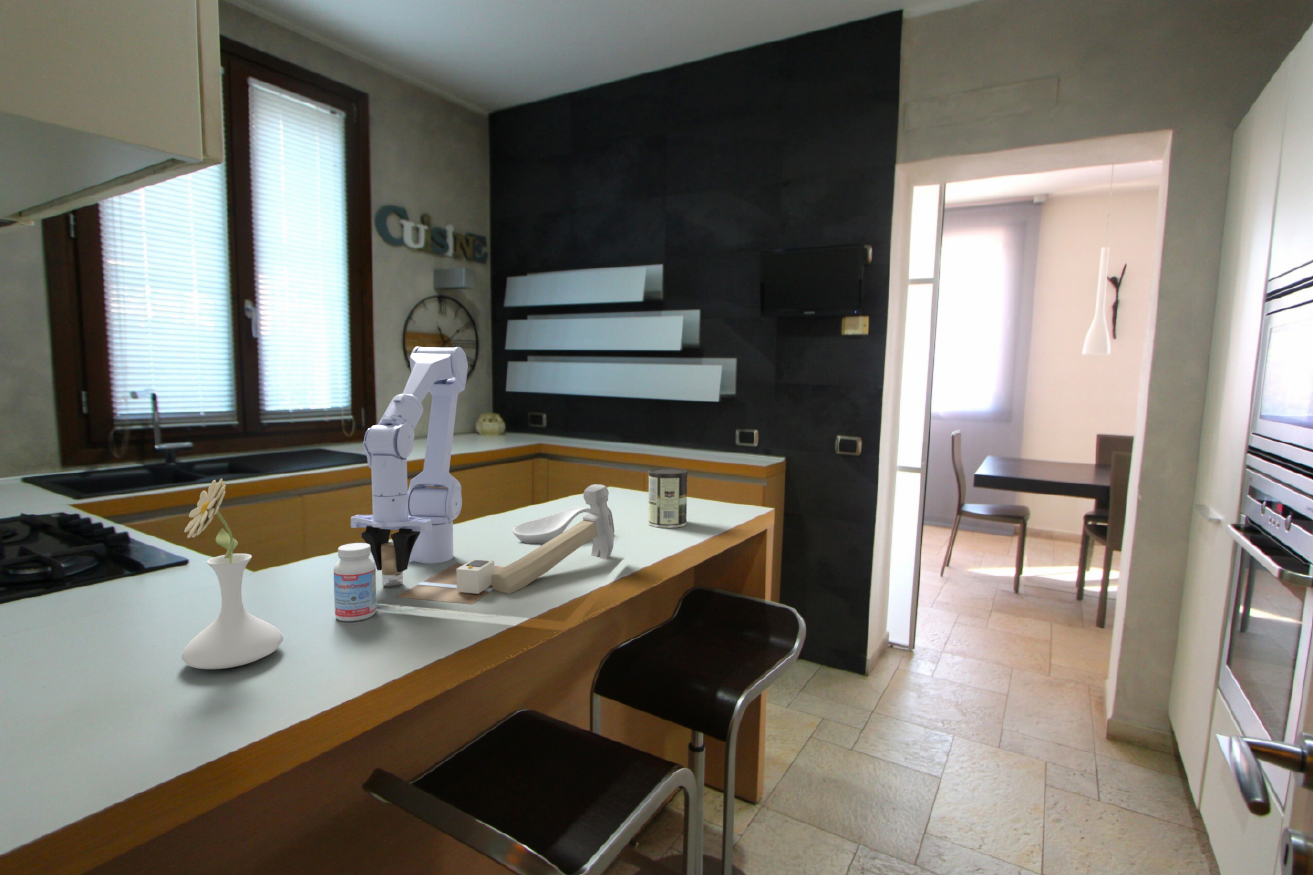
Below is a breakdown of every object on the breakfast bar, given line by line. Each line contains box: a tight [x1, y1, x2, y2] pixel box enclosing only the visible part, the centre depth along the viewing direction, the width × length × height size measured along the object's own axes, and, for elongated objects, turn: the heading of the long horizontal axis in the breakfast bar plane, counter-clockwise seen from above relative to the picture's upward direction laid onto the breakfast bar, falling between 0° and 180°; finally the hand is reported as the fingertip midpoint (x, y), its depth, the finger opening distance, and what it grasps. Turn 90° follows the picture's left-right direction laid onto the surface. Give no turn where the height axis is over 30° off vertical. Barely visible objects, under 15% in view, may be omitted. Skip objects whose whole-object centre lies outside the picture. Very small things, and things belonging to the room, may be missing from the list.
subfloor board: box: [395, 562, 505, 605], centre depth 115 cm, size 14×20×1 cm
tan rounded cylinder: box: [381, 541, 404, 587], centre depth 112 cm, size 3×3×7 cm
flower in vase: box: [181, 478, 284, 670], centre depth 84 cm, size 13×11×25 cm
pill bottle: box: [333, 542, 377, 622], centre depth 101 cm, size 6×6×11 cm
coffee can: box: [647, 467, 689, 529], centre depth 167 cm, size 10×10×14 cm
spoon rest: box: [512, 505, 591, 546], centre depth 151 cm, size 24×12×7 cm, turn 128°
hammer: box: [491, 483, 615, 595], centre depth 122 cm, size 16×5×30 cm
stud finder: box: [456, 558, 495, 594], centre depth 111 cm, size 4×6×4 cm, turn 168°
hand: (392, 569), depth 112 cm, fingers closed on tan rounded cylinder, 3 cm apart
